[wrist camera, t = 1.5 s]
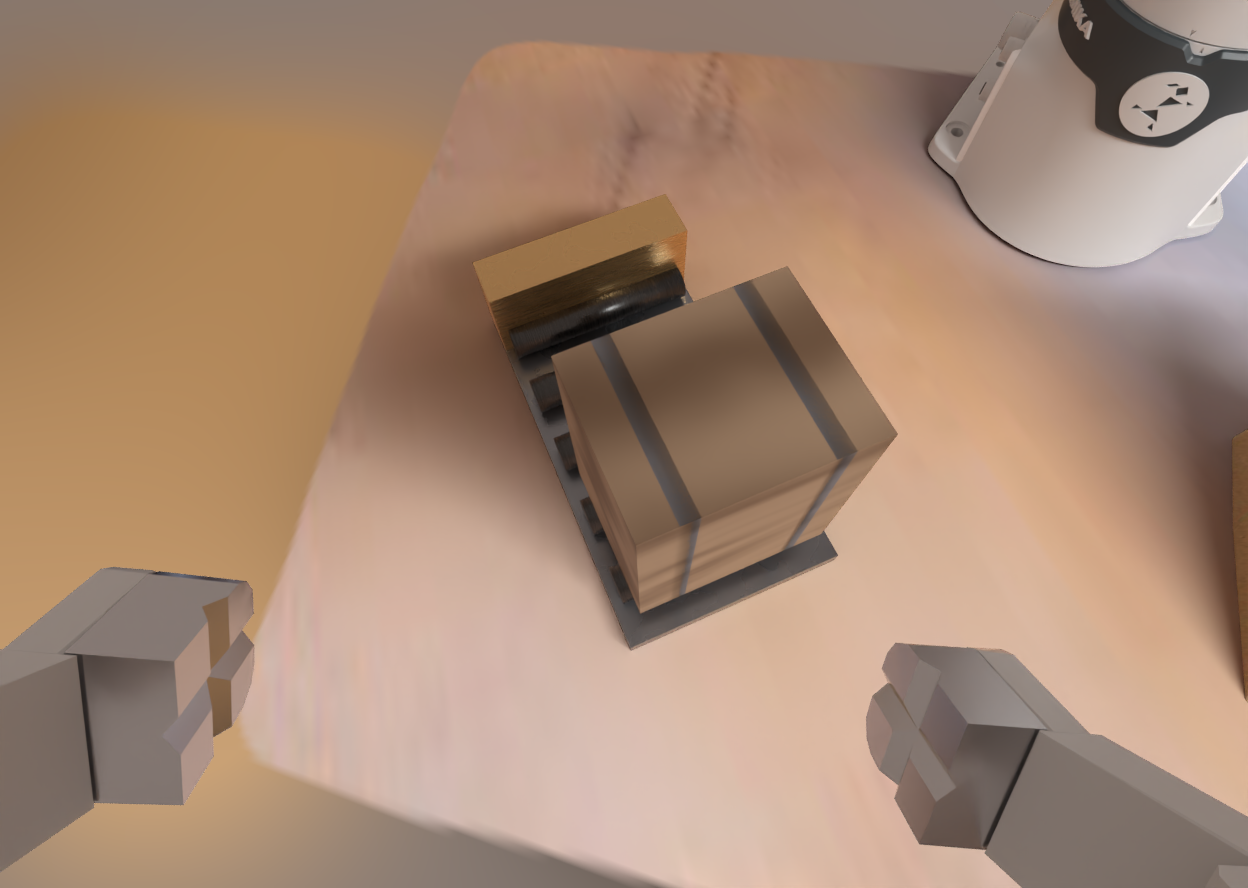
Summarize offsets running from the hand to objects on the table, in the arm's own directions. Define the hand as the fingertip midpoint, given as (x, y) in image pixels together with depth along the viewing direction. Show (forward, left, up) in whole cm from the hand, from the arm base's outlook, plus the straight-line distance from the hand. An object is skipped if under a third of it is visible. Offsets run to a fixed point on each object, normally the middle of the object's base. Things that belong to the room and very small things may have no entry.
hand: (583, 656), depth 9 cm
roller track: (-15, -6, -29) cm, 33 cm away
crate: (-11, -1, -25) cm, 28 cm away
